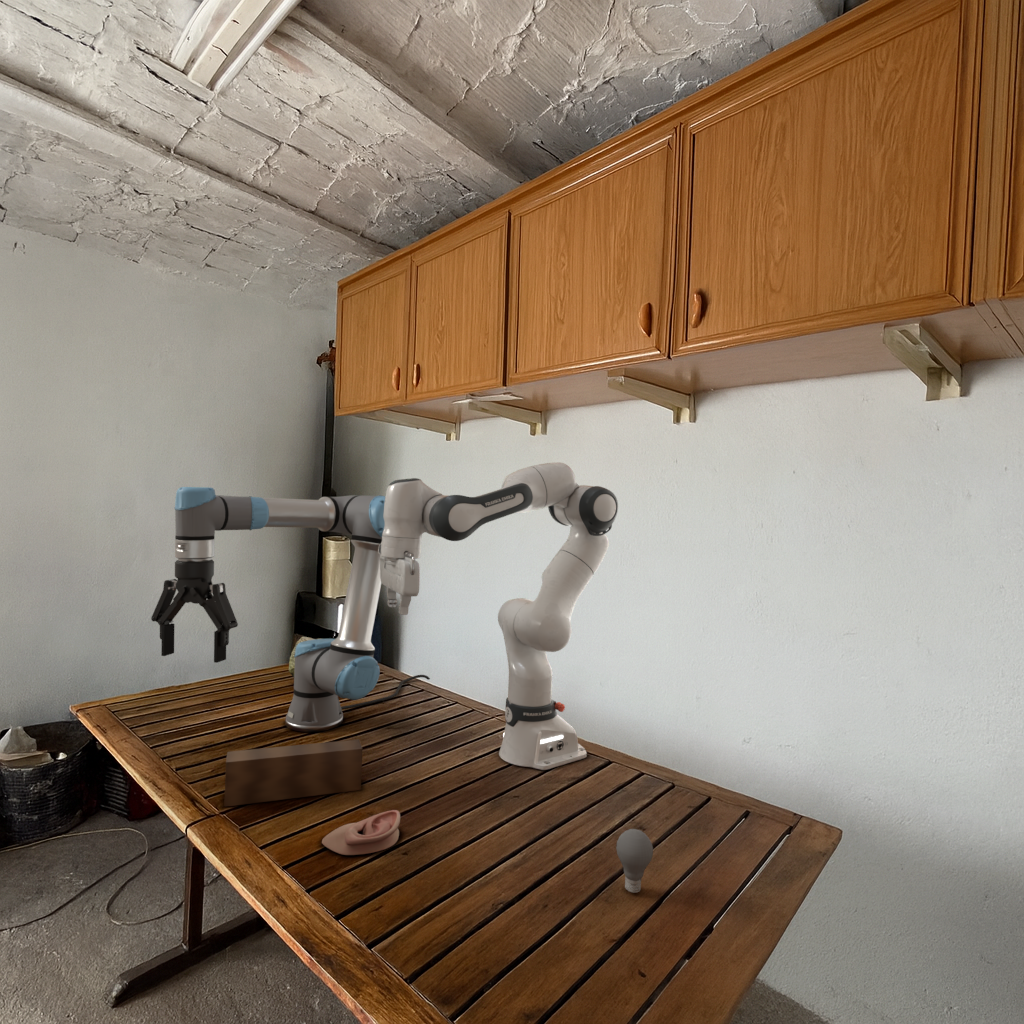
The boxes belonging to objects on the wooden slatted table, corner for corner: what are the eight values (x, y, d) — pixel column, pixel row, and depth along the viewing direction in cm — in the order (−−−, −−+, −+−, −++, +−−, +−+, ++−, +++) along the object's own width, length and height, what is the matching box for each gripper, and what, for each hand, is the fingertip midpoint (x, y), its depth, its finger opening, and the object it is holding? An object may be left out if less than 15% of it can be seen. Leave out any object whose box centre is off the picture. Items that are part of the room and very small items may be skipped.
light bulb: (610, 879, 108) (613, 822, 108) (644, 879, 109) (647, 822, 109) (619, 902, 102) (622, 840, 102) (655, 901, 103) (658, 840, 103)
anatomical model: (313, 828, 113) (343, 799, 125) (313, 850, 113) (342, 819, 125) (383, 839, 111) (407, 808, 122) (382, 862, 111) (406, 829, 122)
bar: (224, 806, 128) (225, 762, 128) (225, 794, 133) (227, 751, 133) (360, 790, 138) (362, 748, 137) (357, 779, 143) (358, 739, 143)
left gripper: (133, 557, 135) (132, 656, 136) (231, 564, 128) (230, 668, 129) (161, 554, 142) (160, 647, 143) (256, 560, 135) (254, 659, 136)
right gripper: (428, 554, 135) (424, 618, 135) (402, 546, 153) (399, 603, 154) (399, 553, 132) (395, 619, 132) (376, 545, 151) (373, 603, 151)
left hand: (193, 657), depth 136 cm, fingers open, 13 cm apart
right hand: (397, 610), depth 143 cm, fingers open, 8 cm apart
